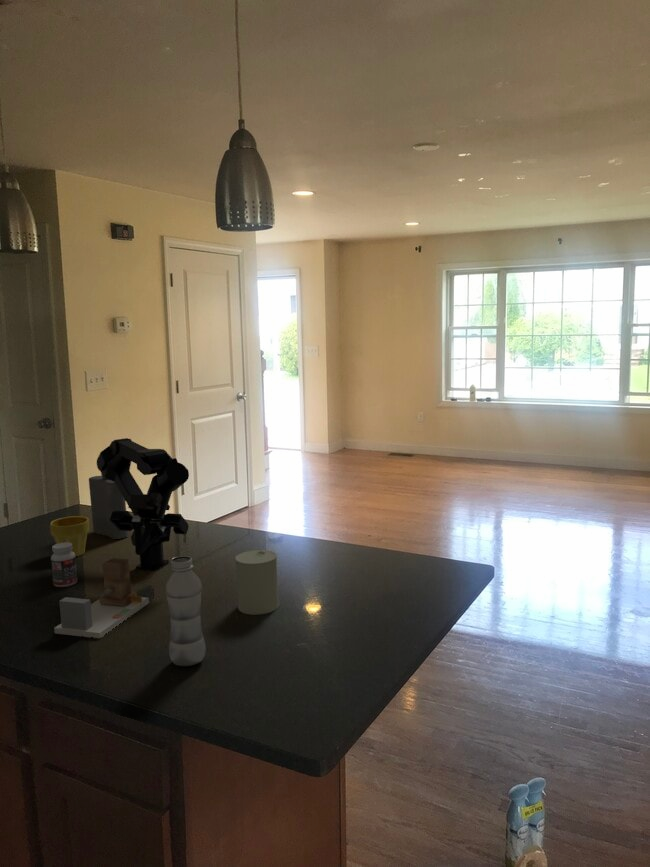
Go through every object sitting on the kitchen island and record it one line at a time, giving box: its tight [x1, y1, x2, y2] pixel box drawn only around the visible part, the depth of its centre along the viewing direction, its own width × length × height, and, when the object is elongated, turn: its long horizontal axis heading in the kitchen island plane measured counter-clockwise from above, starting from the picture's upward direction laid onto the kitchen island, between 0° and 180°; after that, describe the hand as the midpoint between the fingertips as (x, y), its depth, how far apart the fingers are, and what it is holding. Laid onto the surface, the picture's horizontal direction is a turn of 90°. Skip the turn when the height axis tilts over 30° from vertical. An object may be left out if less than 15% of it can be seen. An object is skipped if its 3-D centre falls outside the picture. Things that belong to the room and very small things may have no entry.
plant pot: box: [49, 515, 90, 558], centre depth 191 cm, size 10×10×10 cm
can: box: [234, 549, 280, 616], centre depth 150 cm, size 9×9×12 cm
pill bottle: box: [50, 542, 78, 588], centre depth 168 cm, size 6×6×10 cm
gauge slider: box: [99, 557, 142, 606], centre depth 151 cm, size 7×9×9 cm
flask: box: [88, 472, 129, 540], centre depth 208 cm, size 15×6×20 cm, turn 49°
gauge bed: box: [53, 596, 150, 639], centre depth 147 cm, size 18×11×7 cm, turn 163°
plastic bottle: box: [164, 555, 207, 667], centre depth 125 cm, size 6×7×20 cm
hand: (137, 554), depth 160 cm, fingers closed
